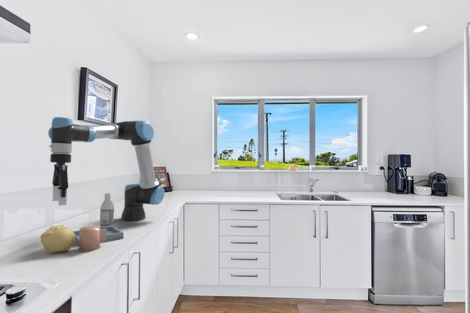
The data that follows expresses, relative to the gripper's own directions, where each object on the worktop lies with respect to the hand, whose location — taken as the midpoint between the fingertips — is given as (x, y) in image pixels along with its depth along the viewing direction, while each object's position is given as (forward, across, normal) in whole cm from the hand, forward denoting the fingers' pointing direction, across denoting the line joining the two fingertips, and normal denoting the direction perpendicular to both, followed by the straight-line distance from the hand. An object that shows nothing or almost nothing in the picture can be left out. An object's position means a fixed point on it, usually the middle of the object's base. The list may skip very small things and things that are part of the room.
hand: (59, 202), depth 118 cm
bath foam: (+20, -24, +27) cm, 42 cm away
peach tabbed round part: (+20, +5, +13) cm, 25 cm away
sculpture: (+21, 0, 0) cm, 21 cm away
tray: (+20, -9, +18) cm, 29 cm away
